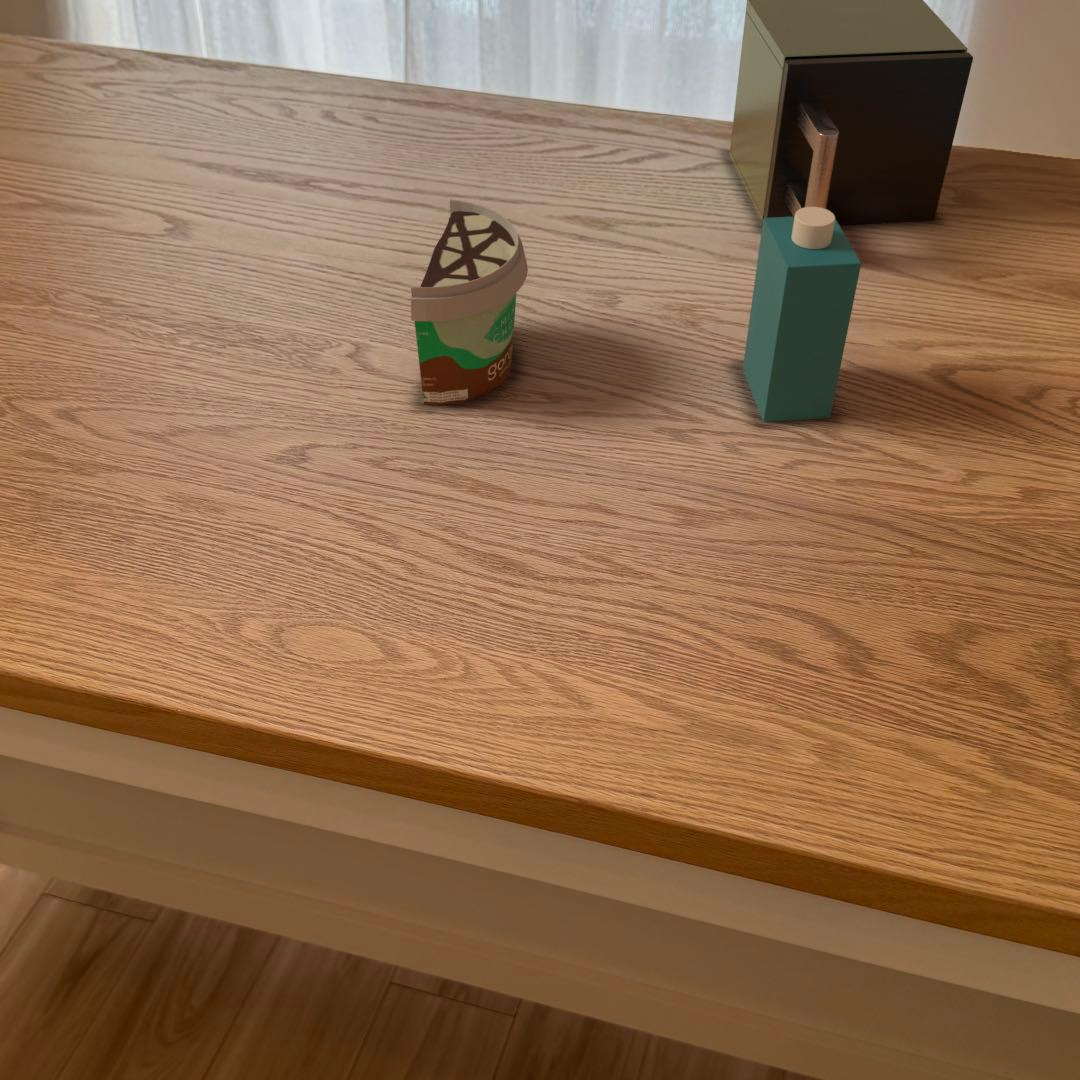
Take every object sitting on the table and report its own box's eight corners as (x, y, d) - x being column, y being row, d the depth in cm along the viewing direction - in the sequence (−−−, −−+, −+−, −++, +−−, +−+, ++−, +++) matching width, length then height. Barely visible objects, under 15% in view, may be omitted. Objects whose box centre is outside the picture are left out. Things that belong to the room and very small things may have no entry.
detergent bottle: (805, 371, 86) (837, 190, 77) (829, 424, 82) (866, 239, 73) (741, 375, 86) (766, 194, 77) (762, 428, 81) (791, 242, 72)
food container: (511, 433, 81) (509, 300, 74) (419, 423, 82) (408, 292, 75) (541, 329, 90) (541, 202, 83) (457, 321, 91) (451, 195, 84)
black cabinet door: (958, 261, 97) (1003, 89, 87) (783, 271, 96) (809, 98, 86) (929, 219, 102) (969, 51, 92) (761, 227, 101) (785, 59, 91)
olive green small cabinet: (927, 219, 102) (968, 48, 92) (761, 228, 101) (784, 56, 91) (882, 153, 111) (915, -9, 101) (728, 160, 110) (747, -3, 100)
